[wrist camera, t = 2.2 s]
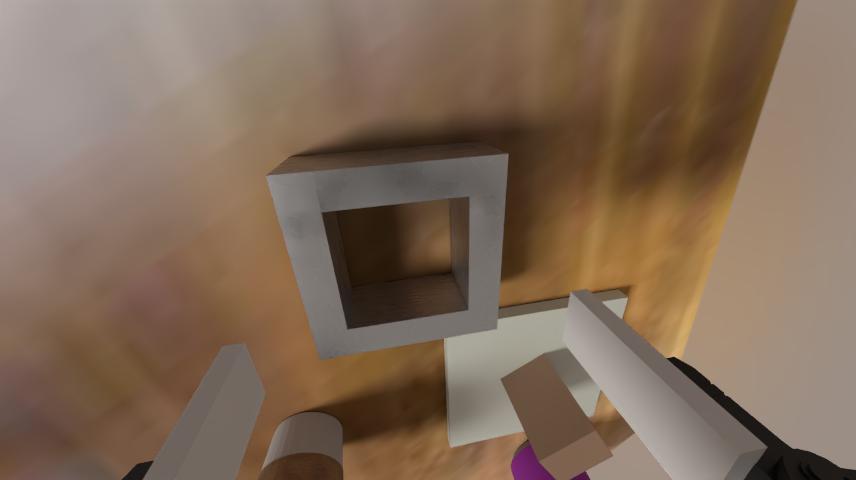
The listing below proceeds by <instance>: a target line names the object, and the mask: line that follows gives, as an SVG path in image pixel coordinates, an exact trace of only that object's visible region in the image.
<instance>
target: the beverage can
mask: <svg viewBox="0 0 856 480" xmlns="http://www.w3.org/2000/svg"><path fill="white" fill-rule="evenodd" d="M511 470H512V473H513V477H514V480H556V479H555V478H554V477H553V476H552V475H551V474H550V473H549V472H548V471H547V470H546V469H545V468H544V467H543V466H542V465H541V464H540V463H539V461H538V459H537V457H536V455H535V453H534V451H533V448H532V446H531V444H530V442H529V441H527V442H525V443H524V444H523V445H521V446H520V447H519V448H518V449H517V451H516V452H515V454H514V457H513V460H512V463H511ZM570 480H590V478H589V476H588V475H587V473H586V471H584V472H583V473H581V474H579V475H577V476H575V477H573V478H571V479H570Z"/></svg>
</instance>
